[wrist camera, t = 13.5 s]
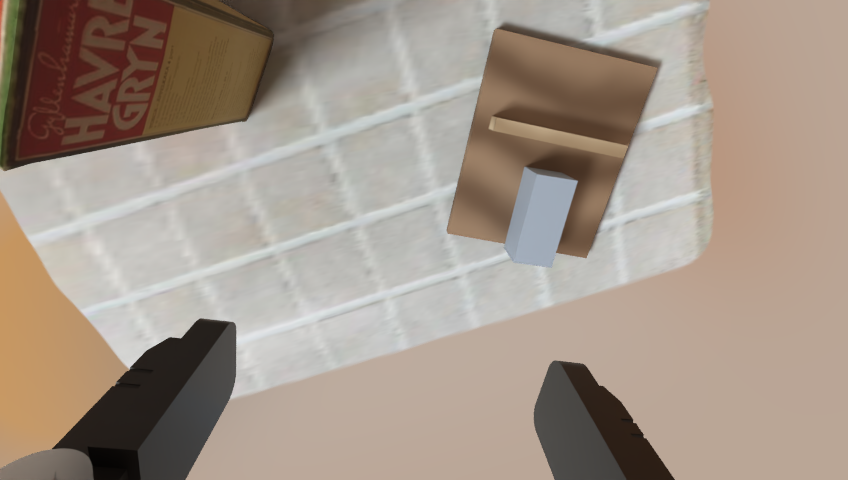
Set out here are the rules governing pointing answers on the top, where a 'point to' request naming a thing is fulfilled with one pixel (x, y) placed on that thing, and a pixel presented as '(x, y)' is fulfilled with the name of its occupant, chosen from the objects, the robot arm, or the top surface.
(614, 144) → the board
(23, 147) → the food packaging
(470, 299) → the top surface
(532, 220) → the block
